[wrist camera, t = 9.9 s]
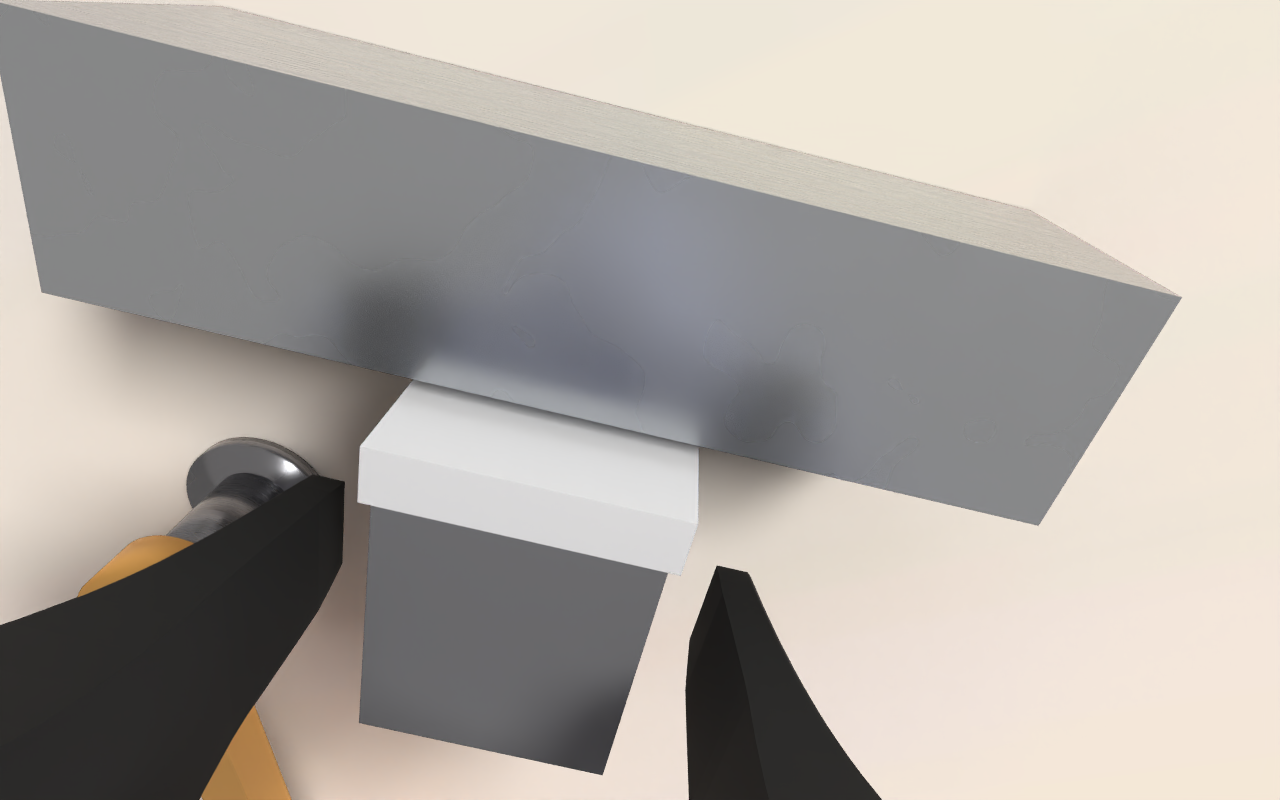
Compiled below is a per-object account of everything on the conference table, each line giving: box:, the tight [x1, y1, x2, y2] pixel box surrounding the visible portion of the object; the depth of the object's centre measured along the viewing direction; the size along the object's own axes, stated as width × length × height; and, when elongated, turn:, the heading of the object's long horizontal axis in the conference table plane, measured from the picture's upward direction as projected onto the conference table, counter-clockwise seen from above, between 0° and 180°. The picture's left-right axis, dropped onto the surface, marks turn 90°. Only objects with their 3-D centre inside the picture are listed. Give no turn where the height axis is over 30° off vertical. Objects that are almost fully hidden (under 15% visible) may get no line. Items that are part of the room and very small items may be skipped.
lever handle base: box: [166, 437, 319, 543], centre depth 17 cm, size 4×4×3 cm
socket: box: [0, 0, 1182, 526], centre depth 13 cm, size 4×16×5 cm, turn 77°
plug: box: [357, 379, 699, 775], centre depth 15 cm, size 9×5×6 cm, turn 167°
